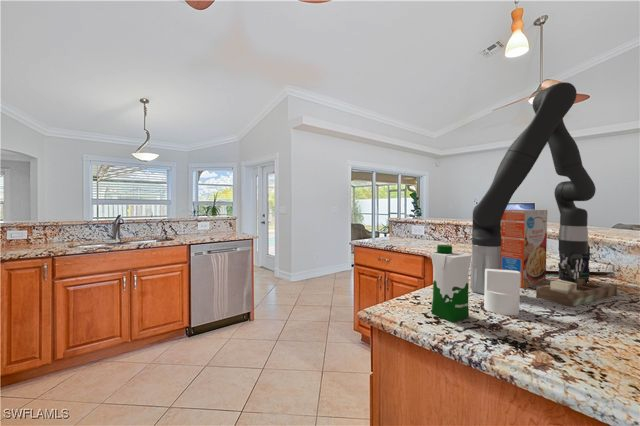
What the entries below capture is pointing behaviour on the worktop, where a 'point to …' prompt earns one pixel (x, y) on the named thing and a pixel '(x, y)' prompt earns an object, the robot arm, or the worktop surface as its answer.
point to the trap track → (577, 293)
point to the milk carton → (450, 284)
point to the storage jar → (585, 272)
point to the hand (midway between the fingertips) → (571, 288)
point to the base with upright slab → (502, 291)
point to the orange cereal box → (524, 244)
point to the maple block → (563, 286)
